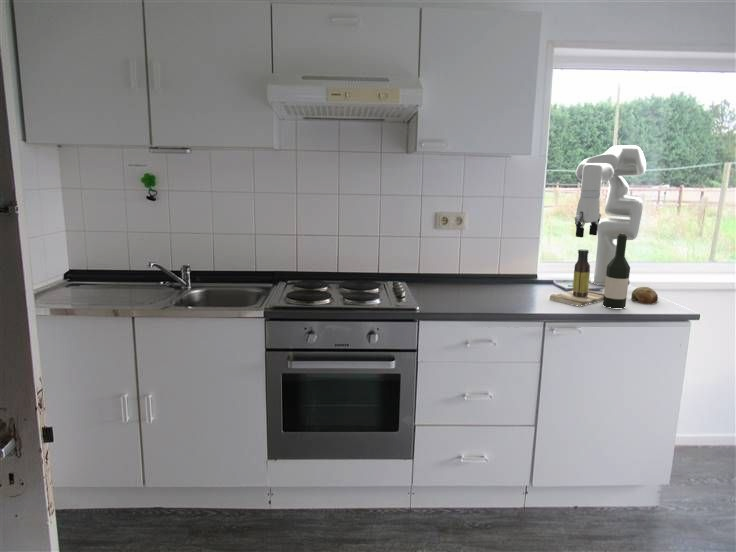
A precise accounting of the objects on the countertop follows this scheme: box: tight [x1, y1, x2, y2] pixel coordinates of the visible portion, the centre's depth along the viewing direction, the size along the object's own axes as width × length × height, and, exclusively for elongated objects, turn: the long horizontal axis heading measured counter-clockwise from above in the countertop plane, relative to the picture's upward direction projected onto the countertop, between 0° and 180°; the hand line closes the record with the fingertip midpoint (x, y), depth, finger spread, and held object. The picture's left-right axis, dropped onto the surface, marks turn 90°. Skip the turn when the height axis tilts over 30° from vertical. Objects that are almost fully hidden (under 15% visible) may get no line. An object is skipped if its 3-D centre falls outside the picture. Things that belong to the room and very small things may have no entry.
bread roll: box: [631, 286, 659, 305], centre depth 215 cm, size 10×10×8 cm
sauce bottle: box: [572, 248, 591, 297], centre depth 215 cm, size 6×6×20 cm
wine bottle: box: [602, 233, 631, 309], centre depth 203 cm, size 8×8×30 cm
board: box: [549, 290, 604, 307], centre depth 217 cm, size 22×14×2 cm, turn 125°
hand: (586, 236), depth 212 cm, fingers open, 9 cm apart
